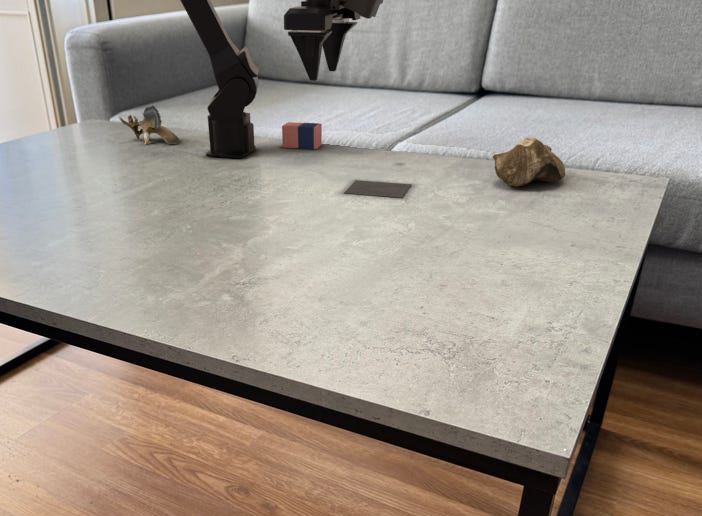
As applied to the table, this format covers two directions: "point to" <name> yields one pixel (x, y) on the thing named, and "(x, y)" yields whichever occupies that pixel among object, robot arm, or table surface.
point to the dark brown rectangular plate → (378, 189)
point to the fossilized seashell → (528, 163)
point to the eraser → (302, 135)
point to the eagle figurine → (150, 126)
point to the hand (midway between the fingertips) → (323, 75)
